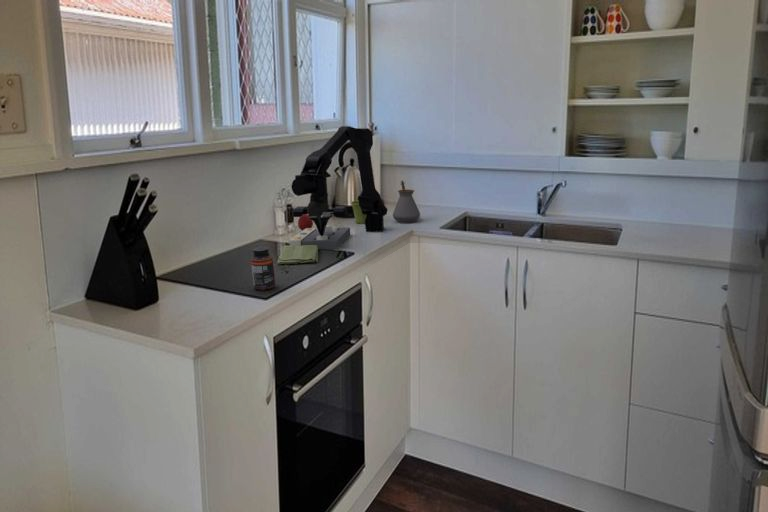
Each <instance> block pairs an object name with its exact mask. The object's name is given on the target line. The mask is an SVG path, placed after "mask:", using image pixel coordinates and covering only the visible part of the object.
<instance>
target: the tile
mask: <svg viewBox="0 0 768 512" xmlns="http://www.w3.org/2000/svg"><path fill="white" fill-rule="evenodd" d="M316 230H317V227H312V228H306V229H304V230H303V231H302V230H301V231H300V232H299V233H297V234H296V235H295V236H293V237H292V238H291V239H289V240H288V241H289V245H295V246H303V243H302V241H303V240H304V239H306V238H307V237H308V236H309V235H311V234H312V233H313V232H314V231H316Z"/></svg>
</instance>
